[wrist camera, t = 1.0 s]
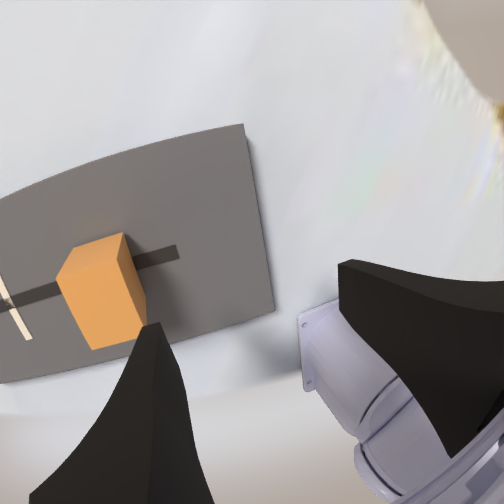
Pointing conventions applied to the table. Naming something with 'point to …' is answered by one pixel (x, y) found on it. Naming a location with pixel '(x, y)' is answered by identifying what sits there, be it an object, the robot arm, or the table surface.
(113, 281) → the fader knob
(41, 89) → the table surface
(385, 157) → the table surface
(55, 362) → the board
